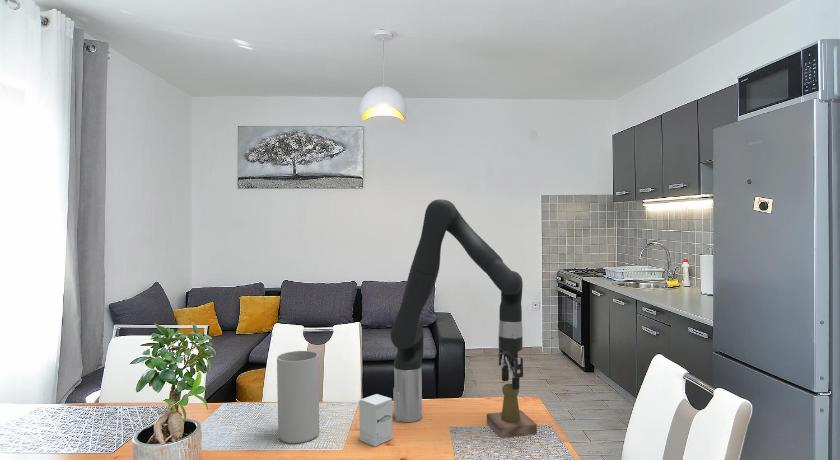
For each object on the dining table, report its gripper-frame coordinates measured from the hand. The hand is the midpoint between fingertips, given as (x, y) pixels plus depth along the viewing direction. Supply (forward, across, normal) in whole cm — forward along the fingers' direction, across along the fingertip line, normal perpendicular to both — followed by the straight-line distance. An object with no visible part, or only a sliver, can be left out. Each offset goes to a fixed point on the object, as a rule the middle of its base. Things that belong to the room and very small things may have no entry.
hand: (510, 385), depth 162 cm
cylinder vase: (+15, -11, -66) cm, 68 cm away
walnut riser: (+14, 0, 0) cm, 14 cm away
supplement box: (+15, -2, -43) cm, 45 cm away
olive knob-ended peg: (+11, 0, 0) cm, 11 cm away
